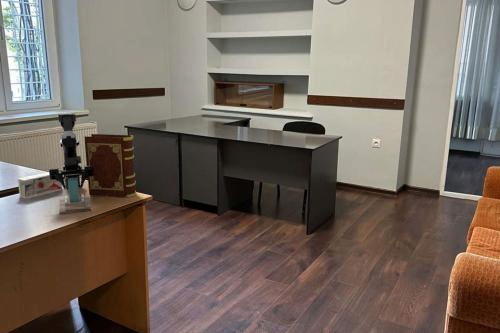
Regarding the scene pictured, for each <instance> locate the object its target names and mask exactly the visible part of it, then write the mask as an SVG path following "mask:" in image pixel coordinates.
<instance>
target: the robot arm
mask: <svg viewBox="0 0 500 333" xmlns="http://www.w3.org/2000/svg"><path fill="white" fill-rule="evenodd" d="M57 117H58V123H60V127H61V128H62V129H63V133H62V134H61V139H60V142H59V143H60V147H61V148H62V150H63V159H64V160H63V161H64V162H63V165H62V170H60V169H59V168H57V167H56V168H50V169H49V170H48V172H49V175H50V179H51V180H56V181H59V182H60V183H61V184H62V189H64V191H66V188H67V189H69V188H68V178H75V177H77V180H78V188H80V189H83V187H84V184H85V181H86V180H87V179H88V177H91V176H94V168H93V166H87V165H84V166H83V167H82V166H81V164H82V156H81V155H78V152H77V151H78V149H77V147H78V146H79V145H80V141H79V139H78V138H77V136H76V134H75V133H74V132H73V130H74V127H75V126H76V122H77V117H76V114H74V113H73V112H65V113H64V112H63V113H62V112H61V113H60V114H58V116H57Z"/></svg>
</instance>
